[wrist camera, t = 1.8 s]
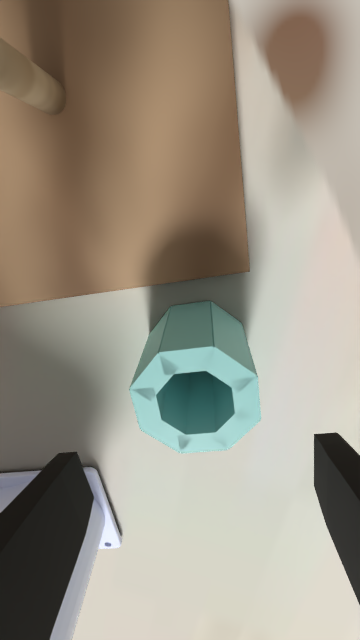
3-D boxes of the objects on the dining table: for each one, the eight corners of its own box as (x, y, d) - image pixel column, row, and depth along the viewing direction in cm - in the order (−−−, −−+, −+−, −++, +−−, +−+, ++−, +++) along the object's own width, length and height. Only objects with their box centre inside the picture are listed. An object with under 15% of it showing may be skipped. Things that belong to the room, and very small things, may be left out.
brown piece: (-14, 304, 17) (-138, 368, 11) (-197, -125, 11) (-721, -538, 5) (246, 266, 15) (277, 318, 9) (202, -269, 9) (204, -1238, 3)
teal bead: (161, 388, 18) (147, 455, 13) (143, 309, 16) (120, 356, 12) (247, 379, 17) (263, 447, 13) (239, 296, 16) (254, 341, 11)
